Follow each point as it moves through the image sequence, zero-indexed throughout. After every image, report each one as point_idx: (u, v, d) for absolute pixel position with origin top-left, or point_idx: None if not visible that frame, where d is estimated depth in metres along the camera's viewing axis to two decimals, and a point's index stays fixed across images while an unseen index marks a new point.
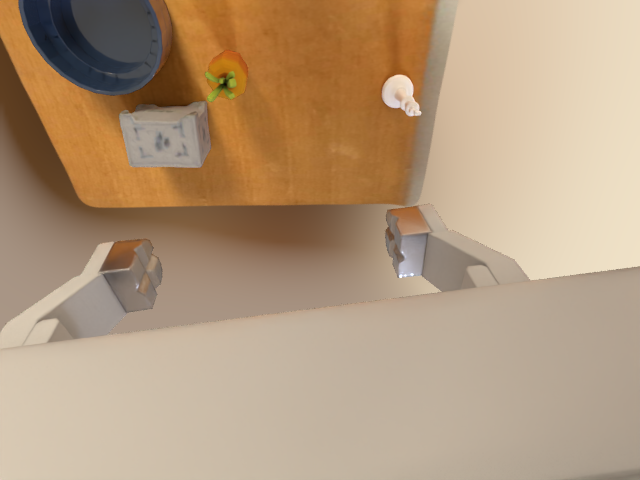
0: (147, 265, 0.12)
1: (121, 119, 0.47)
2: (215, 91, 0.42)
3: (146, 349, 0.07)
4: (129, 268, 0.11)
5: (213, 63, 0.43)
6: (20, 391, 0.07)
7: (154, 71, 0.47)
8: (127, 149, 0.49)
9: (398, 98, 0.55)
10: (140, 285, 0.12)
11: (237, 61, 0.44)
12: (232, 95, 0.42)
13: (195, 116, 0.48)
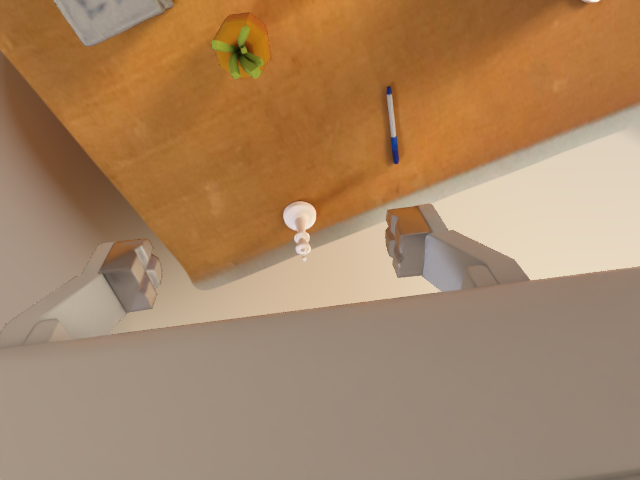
0: (147, 265, 0.12)
1: None
2: (227, 47, 0.29)
3: (146, 349, 0.07)
4: (129, 268, 0.11)
5: (253, 24, 0.30)
6: (20, 391, 0.07)
7: None
8: None
9: (298, 224, 0.52)
10: (140, 285, 0.12)
11: (270, 56, 0.32)
12: (237, 76, 0.29)
13: (161, 12, 0.30)
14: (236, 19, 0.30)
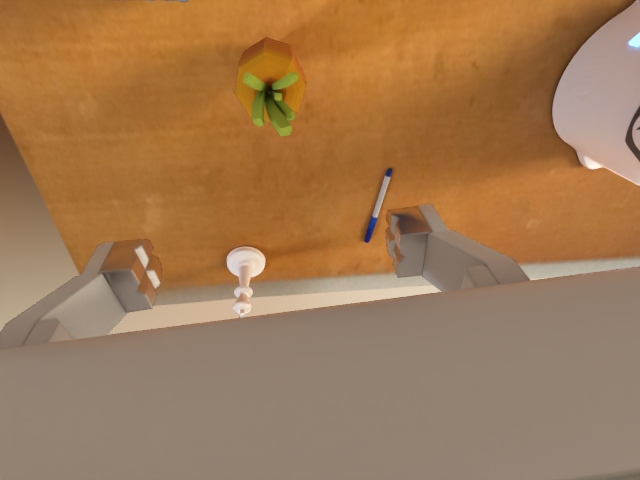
0: (147, 265, 0.12)
1: None
2: (260, 85, 0.22)
3: (146, 349, 0.07)
4: (129, 268, 0.11)
5: (296, 68, 0.24)
6: (20, 391, 0.07)
7: None
8: None
9: (243, 274, 0.45)
10: (140, 285, 0.12)
11: (299, 108, 0.26)
12: (259, 124, 0.22)
13: (184, 0, 0.23)
14: (278, 53, 0.24)
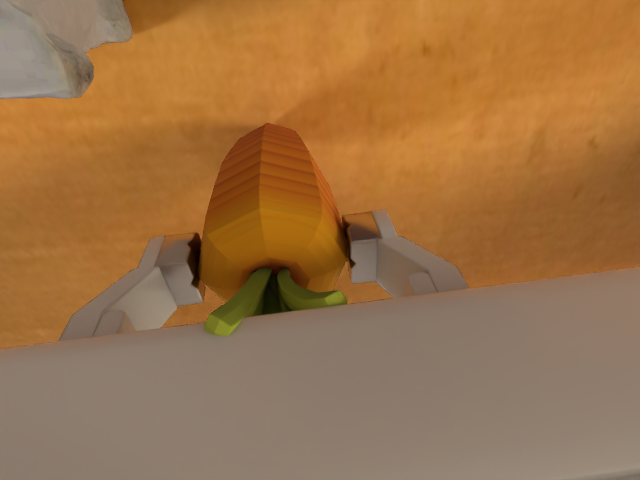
0: (196, 259, 0.12)
1: None
2: (252, 314, 0.09)
3: (146, 348, 0.07)
4: (185, 261, 0.11)
5: (330, 227, 0.11)
6: (20, 391, 0.07)
7: None
8: None
9: None
10: (192, 278, 0.12)
11: None
12: None
13: (69, 97, 0.09)
14: (291, 202, 0.11)
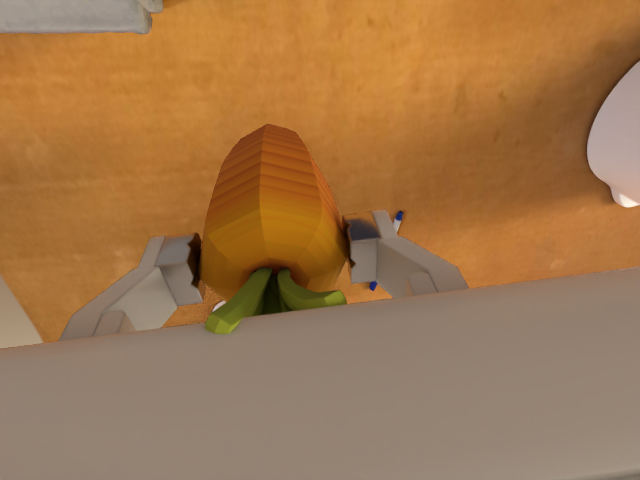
0: (196, 259, 0.12)
1: None
2: (252, 314, 0.09)
3: (146, 349, 0.07)
4: (185, 261, 0.11)
5: (330, 227, 0.11)
6: (20, 391, 0.07)
7: None
8: None
9: None
10: (192, 278, 0.12)
11: None
12: None
13: (143, 32, 0.17)
14: (292, 203, 0.11)
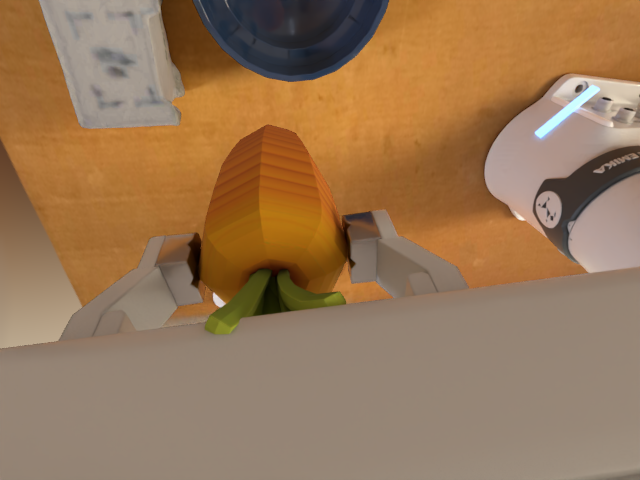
0: (196, 259, 0.12)
1: None
2: (251, 315, 0.09)
3: (146, 348, 0.07)
4: (185, 261, 0.11)
5: (330, 228, 0.11)
6: (20, 391, 0.07)
7: (234, 57, 0.29)
8: None
9: None
10: (192, 278, 0.12)
11: None
12: None
13: (176, 125, 0.30)
14: (291, 204, 0.11)
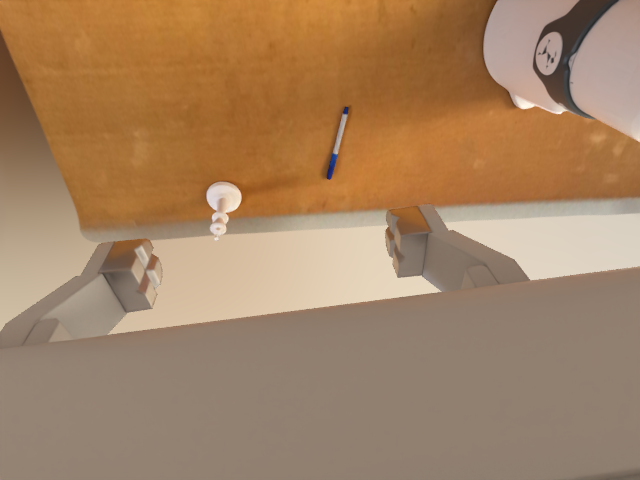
0: (147, 265, 0.12)
1: None
2: None
3: (145, 349, 0.07)
4: (129, 268, 0.11)
5: None
6: (20, 391, 0.07)
7: None
8: None
9: (220, 204, 0.51)
10: (140, 285, 0.12)
11: None
12: None
13: None
14: None
